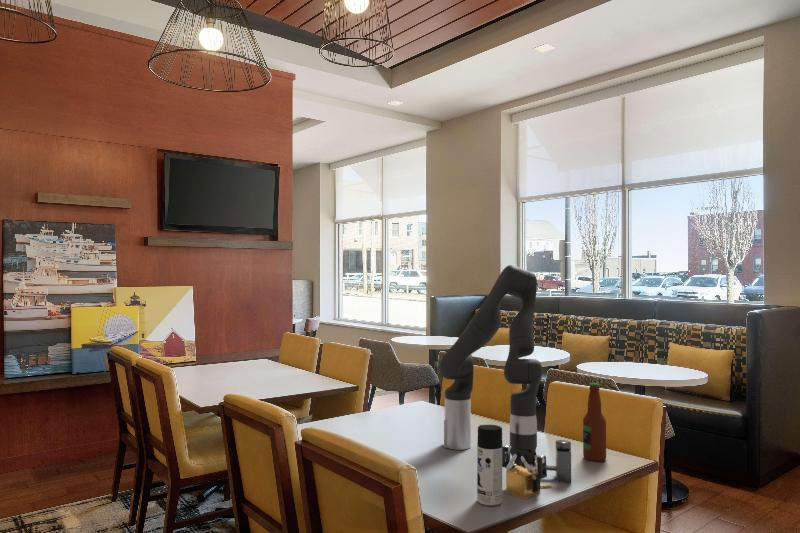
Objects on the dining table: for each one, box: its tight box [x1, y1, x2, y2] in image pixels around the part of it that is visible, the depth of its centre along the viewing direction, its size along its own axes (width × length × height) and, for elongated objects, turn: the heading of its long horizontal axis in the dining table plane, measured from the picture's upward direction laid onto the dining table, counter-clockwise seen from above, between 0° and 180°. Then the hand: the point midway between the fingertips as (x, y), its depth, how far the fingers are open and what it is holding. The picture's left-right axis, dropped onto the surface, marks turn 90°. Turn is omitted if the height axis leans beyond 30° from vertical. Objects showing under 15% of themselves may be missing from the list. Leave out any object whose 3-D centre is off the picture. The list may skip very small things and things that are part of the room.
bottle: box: [582, 382, 607, 463], centre depth 192 cm, size 7×7×25 cm
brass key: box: [540, 483, 553, 489], centre depth 166 cm, size 6×2×1 cm, turn 99°
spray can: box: [476, 424, 503, 507], centre depth 155 cm, size 7×7×20 cm
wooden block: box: [505, 466, 541, 499], centre depth 162 cm, size 7×6×6 cm
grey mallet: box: [531, 439, 572, 484], centre depth 173 cm, size 12×6×11 cm, turn 79°
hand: (523, 487), depth 162 cm, fingers open, 8 cm apart
